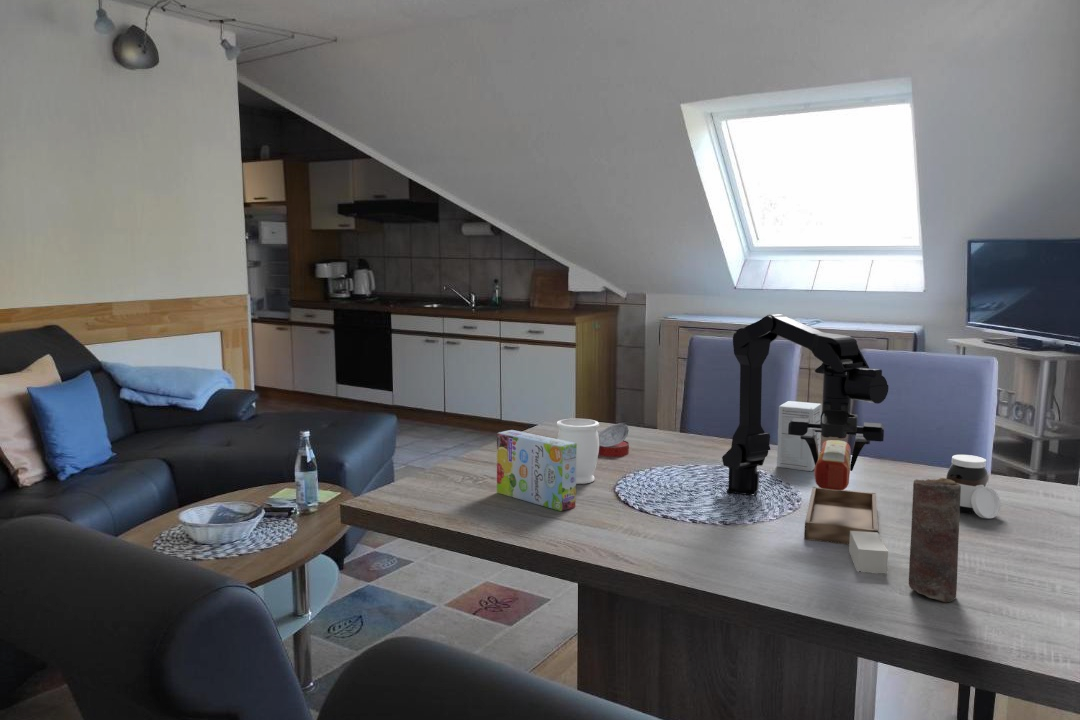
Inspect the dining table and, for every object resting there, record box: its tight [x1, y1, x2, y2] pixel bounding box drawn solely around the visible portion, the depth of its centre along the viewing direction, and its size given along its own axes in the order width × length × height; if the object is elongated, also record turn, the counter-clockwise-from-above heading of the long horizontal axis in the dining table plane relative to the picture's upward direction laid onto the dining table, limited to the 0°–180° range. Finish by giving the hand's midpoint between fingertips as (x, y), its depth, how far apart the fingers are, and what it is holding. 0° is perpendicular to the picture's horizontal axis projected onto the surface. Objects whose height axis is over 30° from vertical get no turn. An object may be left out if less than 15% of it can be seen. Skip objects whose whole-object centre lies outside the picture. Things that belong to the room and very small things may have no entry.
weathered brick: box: [908, 477, 961, 603], centre depth 137 cm, size 8×7×20 cm
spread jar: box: [945, 454, 1002, 519], centre depth 181 cm, size 12×11×12 cm
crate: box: [803, 486, 879, 545], centre depth 174 cm, size 14×27×4 cm, turn 159°
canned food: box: [598, 422, 630, 458], centre depth 233 cm, size 11×10×10 cm
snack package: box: [813, 439, 852, 491], centre depth 172 cm, size 21×7×7 cm, turn 157°
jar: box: [556, 417, 600, 485], centre depth 205 cm, size 11×10×15 cm
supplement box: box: [776, 400, 822, 472], centre depth 219 cm, size 10×9×17 cm
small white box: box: [848, 531, 889, 575], centre depth 152 cm, size 5×10×4 cm, turn 168°
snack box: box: [496, 429, 577, 512], centre depth 189 cm, size 21×6×15 cm, turn 47°
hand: (834, 469), depth 172 cm, fingers closed on snack package, 6 cm apart
